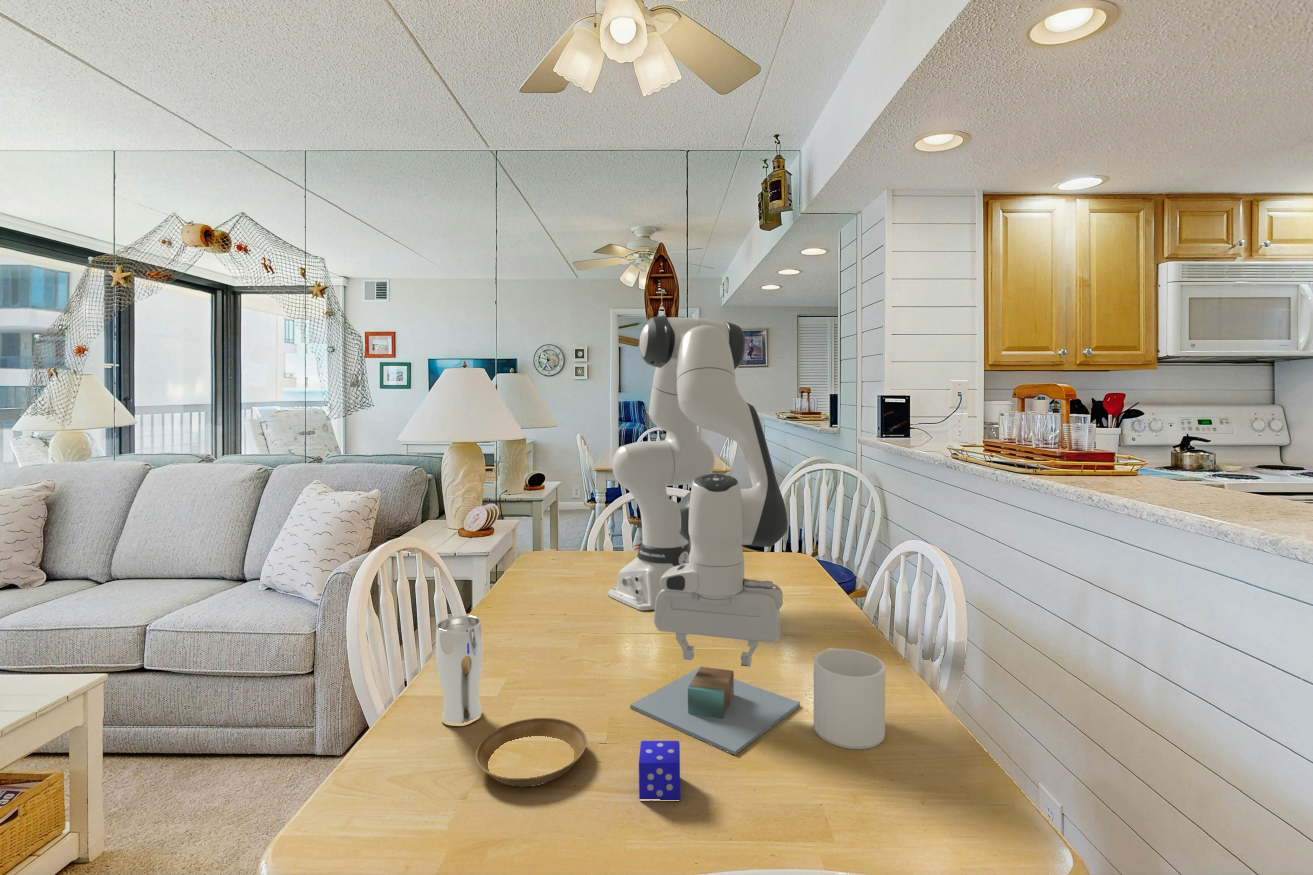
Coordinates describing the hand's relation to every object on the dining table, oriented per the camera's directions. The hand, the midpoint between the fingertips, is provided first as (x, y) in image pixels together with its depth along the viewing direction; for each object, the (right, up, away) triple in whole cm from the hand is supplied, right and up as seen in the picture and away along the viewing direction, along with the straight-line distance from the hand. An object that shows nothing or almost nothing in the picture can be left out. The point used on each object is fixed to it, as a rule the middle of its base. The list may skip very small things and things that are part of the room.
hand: (717, 661), depth 99 cm
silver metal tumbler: (-40, -8, -3) cm, 41 cm away
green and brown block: (0, -4, +2) cm, 4 cm away
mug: (+18, -7, -8) cm, 21 cm away
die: (-9, -8, -22) cm, 25 cm away
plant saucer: (-27, -8, -15) cm, 32 cm away
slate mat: (0, -7, -1) cm, 7 cm away
